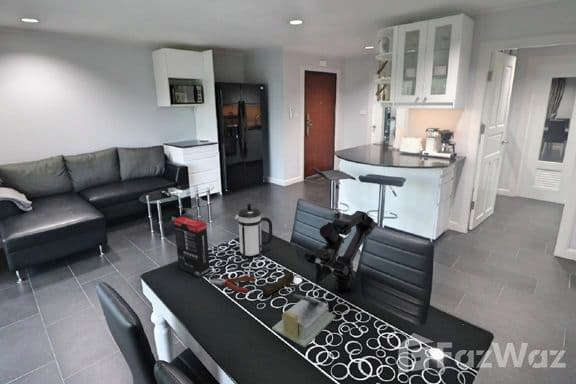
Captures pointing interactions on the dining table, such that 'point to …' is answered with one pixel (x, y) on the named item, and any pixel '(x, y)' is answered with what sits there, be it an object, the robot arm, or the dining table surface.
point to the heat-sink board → (304, 321)
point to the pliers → (232, 286)
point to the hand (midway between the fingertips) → (316, 283)
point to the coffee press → (251, 230)
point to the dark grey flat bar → (305, 298)
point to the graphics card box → (192, 246)
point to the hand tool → (278, 284)
